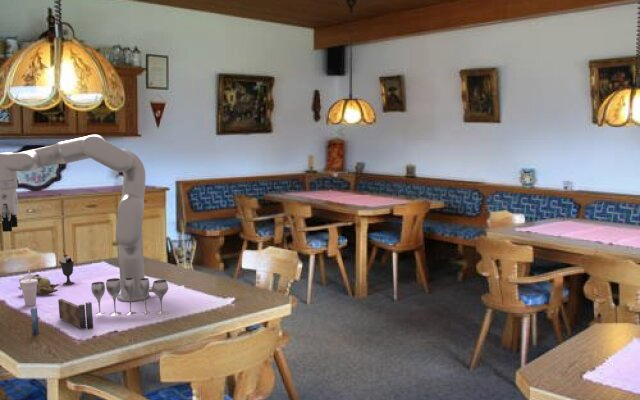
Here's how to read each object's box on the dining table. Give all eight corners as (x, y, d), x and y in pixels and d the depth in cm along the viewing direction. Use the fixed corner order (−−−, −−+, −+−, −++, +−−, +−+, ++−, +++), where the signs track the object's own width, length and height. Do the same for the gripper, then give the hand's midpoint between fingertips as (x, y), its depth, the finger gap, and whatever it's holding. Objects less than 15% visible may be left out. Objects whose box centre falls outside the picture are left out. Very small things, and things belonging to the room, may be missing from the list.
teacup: (28, 290, 272) (27, 280, 272) (14, 288, 277) (13, 277, 277) (49, 285, 281) (48, 275, 280) (35, 282, 286) (34, 272, 285)
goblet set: (91, 317, 234) (88, 281, 233) (95, 312, 240) (93, 277, 238) (167, 315, 235) (166, 279, 234) (170, 310, 241) (169, 276, 239)
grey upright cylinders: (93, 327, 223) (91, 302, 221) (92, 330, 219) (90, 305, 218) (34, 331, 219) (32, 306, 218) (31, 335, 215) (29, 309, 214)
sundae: (63, 282, 285) (60, 249, 283) (78, 281, 285) (76, 248, 284) (58, 286, 278) (55, 252, 276) (74, 285, 279) (71, 251, 277)
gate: (87, 327, 221) (85, 305, 220) (81, 329, 220) (80, 306, 219) (63, 317, 233) (62, 295, 232) (58, 318, 232) (56, 297, 231)
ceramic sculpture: (20, 272, 268) (59, 270, 273) (20, 292, 269) (59, 290, 274) (17, 278, 258) (57, 276, 263) (18, 299, 259) (57, 297, 264)
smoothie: (32, 307, 247) (29, 272, 245) (18, 306, 249) (15, 271, 247) (42, 302, 253) (40, 268, 252) (28, 302, 255) (25, 267, 253)
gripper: (12, 186, 235) (16, 232, 238) (21, 182, 252) (25, 225, 254) (-10, 187, 234) (-6, 233, 236) (1, 183, 250) (4, 226, 253)
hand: (10, 229), depth 245 cm, fingers open, 9 cm apart
